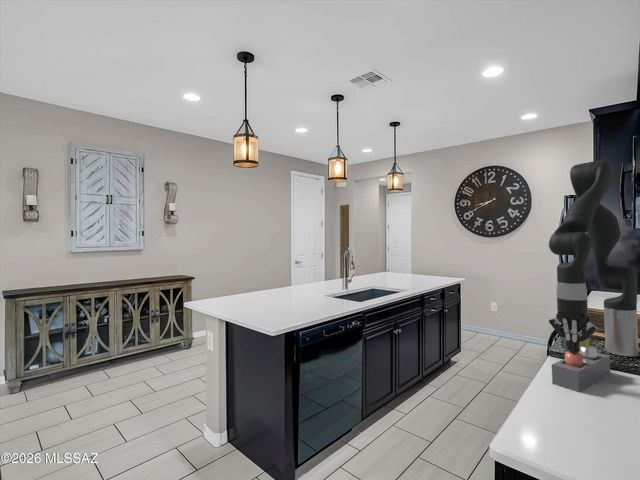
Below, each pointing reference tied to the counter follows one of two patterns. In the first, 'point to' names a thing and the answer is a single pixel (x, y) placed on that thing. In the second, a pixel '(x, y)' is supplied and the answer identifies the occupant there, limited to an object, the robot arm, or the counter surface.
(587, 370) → the button panel
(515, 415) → the counter surface
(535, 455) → the counter surface
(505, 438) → the counter surface
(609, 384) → the counter surface
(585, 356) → the steel button
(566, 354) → the red button
